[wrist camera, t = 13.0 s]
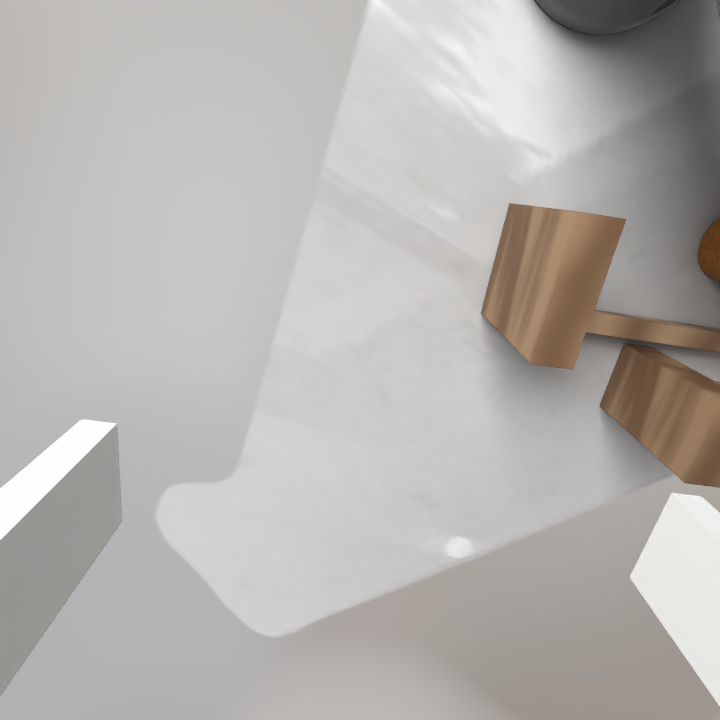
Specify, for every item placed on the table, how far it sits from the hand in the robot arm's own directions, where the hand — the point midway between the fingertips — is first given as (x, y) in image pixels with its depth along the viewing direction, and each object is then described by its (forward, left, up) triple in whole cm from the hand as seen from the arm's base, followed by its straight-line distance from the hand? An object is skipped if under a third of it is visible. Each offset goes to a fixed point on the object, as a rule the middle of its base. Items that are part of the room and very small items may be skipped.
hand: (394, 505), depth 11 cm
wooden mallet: (+7, +33, -33) cm, 47 cm away
